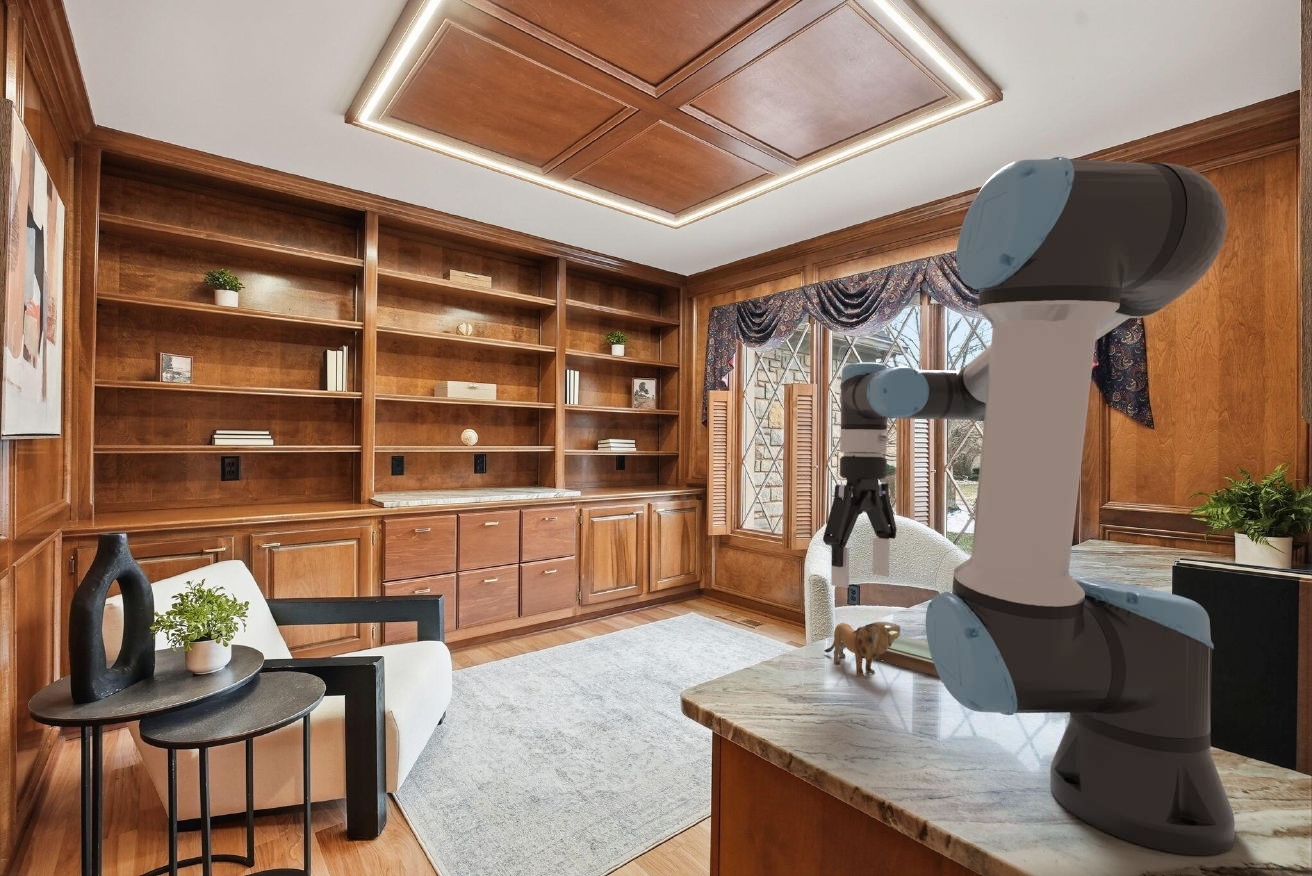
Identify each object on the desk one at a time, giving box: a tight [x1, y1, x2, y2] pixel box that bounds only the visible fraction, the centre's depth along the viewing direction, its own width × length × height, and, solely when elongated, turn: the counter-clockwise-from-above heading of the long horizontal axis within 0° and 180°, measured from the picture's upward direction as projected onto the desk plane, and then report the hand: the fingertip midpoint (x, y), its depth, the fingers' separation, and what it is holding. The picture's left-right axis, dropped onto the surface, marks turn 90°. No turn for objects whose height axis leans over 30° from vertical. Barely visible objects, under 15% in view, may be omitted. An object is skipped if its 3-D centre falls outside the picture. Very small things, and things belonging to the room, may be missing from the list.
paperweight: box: [877, 621, 901, 636], centre depth 122 cm, size 5×5×3 cm
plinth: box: [876, 631, 939, 677], centre depth 108 cm, size 10×21×3 cm, turn 43°
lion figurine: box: [823, 621, 895, 677], centre depth 106 cm, size 15×5×9 cm, turn 27°
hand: (861, 580), depth 106 cm, fingers open, 13 cm apart
